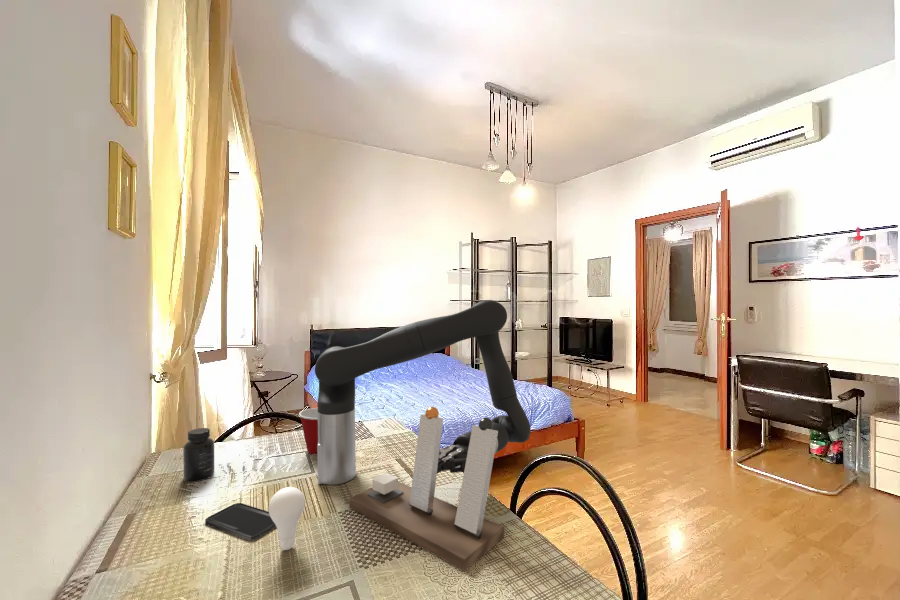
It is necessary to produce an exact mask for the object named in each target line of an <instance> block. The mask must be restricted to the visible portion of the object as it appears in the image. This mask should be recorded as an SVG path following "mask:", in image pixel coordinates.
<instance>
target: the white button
mask: <svg viewBox="0 0 900 600" xmlns="http://www.w3.org/2000/svg"><path fill="white" fill-rule="evenodd" d="M371 482H372V484H371V486H372V487H373V490H375V491H378V492H380V493H382V494H384V495H385V494H388V493H390V492H391V491H393V490H395V489H397V488H398V482H399V477H397V476H395V475H392V474H390V473H387V472H385V473H384V474H383V473H382V474H380V475H378V476H377V477H375V478H374V477H373V478H372V480H371ZM372 487H371V488H372Z"/></svg>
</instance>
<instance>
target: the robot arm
mask: <svg viewBox="0 0 900 600" xmlns="http://www.w3.org/2000/svg"><path fill="white" fill-rule="evenodd" d="M507 320H508V312H507V310H506V308H505V307H504V305H502V303H500V302H499V301H495V300H492V299H487V300H481V301H478V302H476V303H474V304H473V305H472V306H471V307H469V308H467V309H463V310H461V311H459V312H457V313H456V312H455V313H452V314H448V315H443V316H438V317H432V318H431V317H430V318H426V319H422V320H418V321H415V322H412V323H411V322H410V323H408V324H405V325H402V326H400V327H397V328H395V329H392V330H390V331H388V332H386V333H383V334H381V335H380V336H378V337H375V338H373V339H371V340H369V341H367V342H363V343H359V344H356V345H355V344H354V345H351V346H347V347H346V346H345V347H343V346H338V345H337V346H330V347H329V348H327V349H325V350H324V351H323V352H322V353H321V354H320V355H319V357H318V358H317V360H316V362H315V365H314V374H315V377H316V379H317V380H318V396H317V407H316V408H318V445H317V454H316V455H317V462H316V463H317V484H318V485H321V484H323V485H330V486H331V485H332V486H333V485H340V484H344V483H347V482H349V481H352V480H353V479H354V478H355V477H356V476H357V475H356V474H357V465H356V464H357V461H356V459H357V458H356V457H357V455H356V409H355V408H356V404H355V403H356V378H358V377H361V376H363V375H365V374H367V373H368V374H369V373H370V372H372V371H376V370H379V369H382V368H386V367H392V366H395V365H399V364H403V363H406V362H408V361H409V362H410V361H413V360H416V359H418V358H422V357H425V356H427V355H430V354H432V353H433V354H434V353H435V352H438V351H441V350H444V349H445V348H448V347H449V346H453V345H454V344H456V343H459V342H461V341H465V340H469V339H473V338H475V341H476V342H477V345H478V348H479V352H480V354H481V358H482V362H483V365H484V370H485V375H486V379H487V384H488V389H489V393H490V394H489V395H490V398H491V402H492V406H493V408H494V409H496V410H499V411H503V412H504V413H506V415H498V416H496V417H493V419H491V420H492V422H493V428H492V430H496V431H498V435H497V441H496V447H495V453H494V455H495V454H496V453H498V452H500V451H502V450H503V449H504V448H505V447H507V445H508V443H517V444H518V443H520V444H522V443H525V442H527V441H528V440H529V438H530V436H531V433H532V432H531V430H532V429H531V423H530V421H529V418H528V416H527V414H526V413H525V411H524V408H523V406H522V404H521V402H520V401H519V398H518V395H517V390H516V386H515V382H514V378H513V374H512V371H511V369H510V367H509V364H508V361H507V359H506V357H505V354H504V351H503V348H502V344H501V341H500V340H501V339H500V335H499V332H500V331H501V330H502V329H503V328H504V327H505V325H506V323H507ZM471 432H472V430H469V431H468V432H465V433H463V434H461V435H459V436H458V437H456V438H455V440H454V441H453V443H452V445H447V446H445V447H444V448H440V450H439V458H438V467H437V475H438V474H439V473H441V472H448V471H449V473H451V474H455V473H456V474H457V473H462V472H463V473H464V470H465V464H466V459H467V454H468V448H469V443H470V437H471Z"/></svg>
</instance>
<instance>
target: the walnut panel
mask: <svg viewBox="0 0 900 600" xmlns="http://www.w3.org/2000/svg"><path fill="white" fill-rule="evenodd" d="M411 488H412V486H410V485H407V484H405V483H402V482H401V481H398V488H397V489H395V490H393V491H391V492H390V493H388V494H385V495H384V494H382V493H380V492H378V491H375V490H373V487H370V488H368V489H367V490H364V491H362V492H360V493H358V494H356V495H353V496H351V497H349V499H348V500H349V502H348V503H349V505H348V508H350V509H351V510H353V511H355V512H357V513H359V514H360V515H362V516H363V517H366V518H367V519H369V520H371V521H373V522H375V523H377V524H379V525H380V526H382V527H384V528H386V529H387V530H389V531H391V532H393V533H395V534H397V535H398V536H400V537H402V538H404V539H406V540H408V541H409V542H410V543H413V544H414V545H416V546H418V547H420V548H421V549H423V550H425V551H426V552H429V553H431V554H433V555H435V556H436V557H438V558H440V559H442V560H444V561H445V562H447V563H449V564H450V565H453V566H454V567H456V568H458V569H460V570H461V571H463V572H466V571H467V570H469V568H471V567H472V566H473V565H474V564H475V563H476V562H477V561H479V560H480V559H481V558H482V557H483V556H485V554H487V553H488V552H489V551H490V550H491V549H492V548H493V547H494V546H495V545H497V544H498V543H499V542H500V541H501V540H502V539H503V538H504V537H505V526H504V525H501V524H499V523H497V522H494V521H492V520H490V519H488V518H485V517H484V519H483V525H482V535H481V537H480V538H477V537H475V536H473V535H471V534H469V533H467V532H465V531H462V530H460V529H458V528H456V527H454V522H455V519H456V513H457V508H458V505H457V506H456V505H454V504H452V503H449V502H447V501H445V500H442V499H440V498H437V497H436V496H434V502H433V513H432V515H428V514H426V513H424V512H422V511H420V510H417V509H415V508H413V507H411V506H409V502H410V496H411Z"/></svg>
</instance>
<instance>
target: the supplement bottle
mask: <svg viewBox="0 0 900 600" xmlns="http://www.w3.org/2000/svg"><path fill="white" fill-rule="evenodd" d="M210 431H211V430H210V428H208V427H200V428H199V427H198V428H194V429H191V430H189V431H187V442H186V443H185V444H184V445H183V447H182V448H183V449H182V453H183V454H182V455H183V456H182V457H183V458H182V459H183V461H182V462H183V463H182V464H183V468H182V469H183V480H185V481H186V482H190V483H193V481H195V482H199V480H200V481H203V479H204V480H206V479H209V478H210V477H212V476H213V475H214V473H215V441H214V440H213V438H211V433H210ZM208 477H209V478H208Z"/></svg>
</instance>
